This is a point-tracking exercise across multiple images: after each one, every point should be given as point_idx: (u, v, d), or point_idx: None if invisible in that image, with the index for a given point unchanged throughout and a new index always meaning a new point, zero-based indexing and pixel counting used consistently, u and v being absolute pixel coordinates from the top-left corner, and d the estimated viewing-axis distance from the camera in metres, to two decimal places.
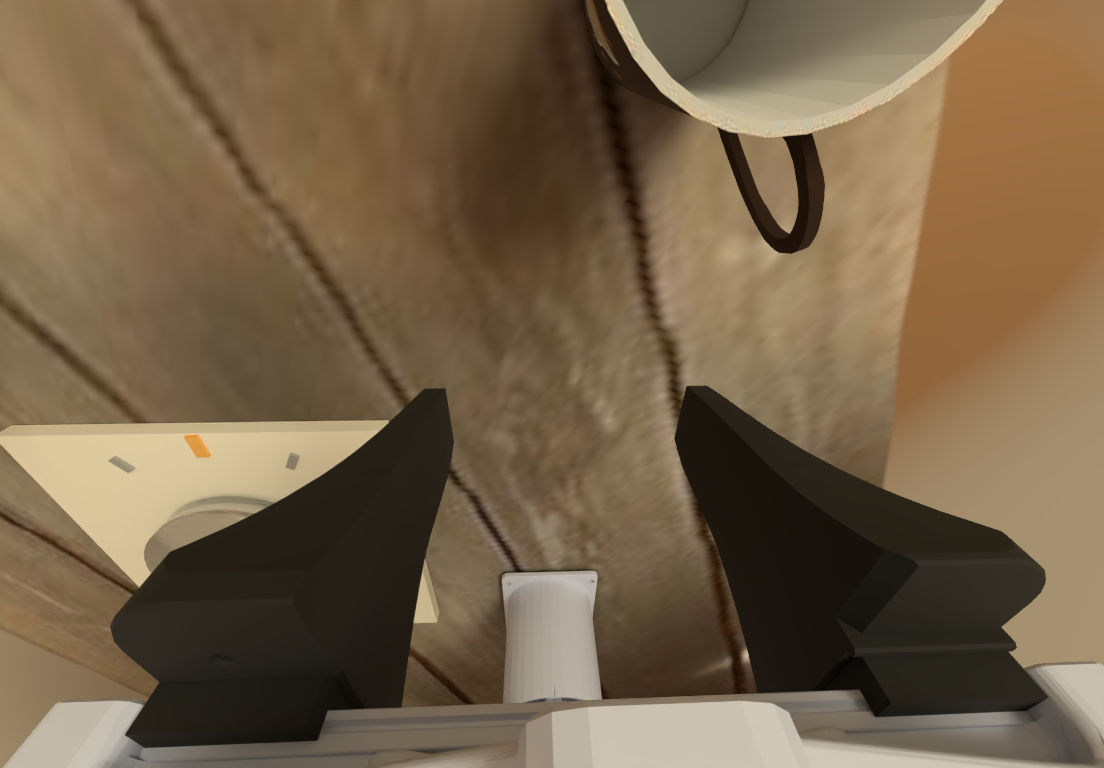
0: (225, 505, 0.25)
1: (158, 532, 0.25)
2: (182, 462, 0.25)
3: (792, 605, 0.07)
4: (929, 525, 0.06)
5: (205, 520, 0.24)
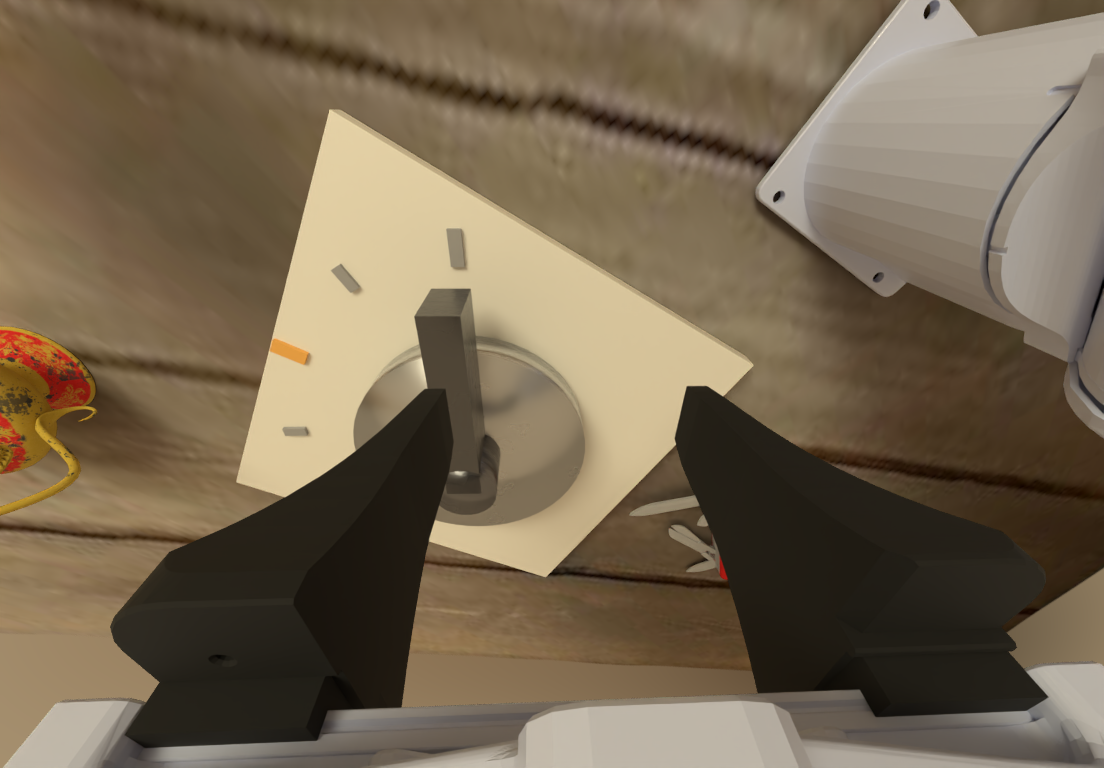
0: None
1: None
2: (311, 385, 0.21)
3: (792, 605, 0.07)
4: (928, 524, 0.06)
5: (360, 410, 0.20)
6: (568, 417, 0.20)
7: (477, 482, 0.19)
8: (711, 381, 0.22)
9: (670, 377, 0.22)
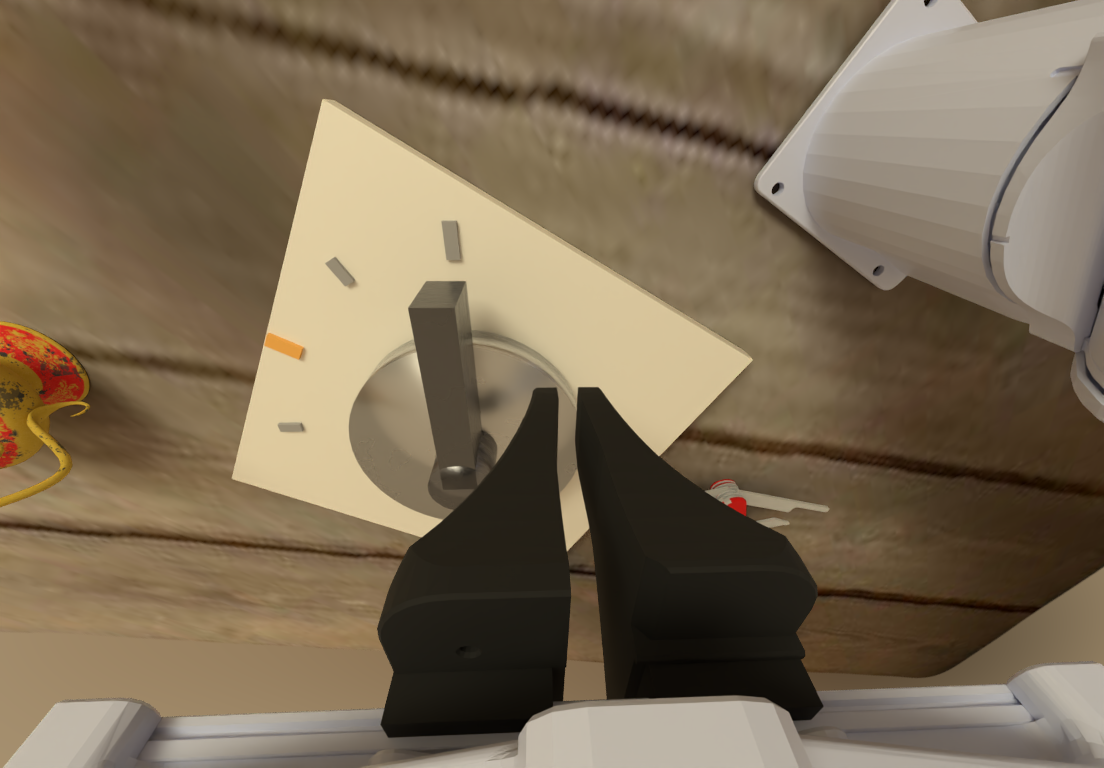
0: None
1: (356, 456, 0.21)
2: (306, 380, 0.21)
3: (617, 610, 0.07)
4: (718, 529, 0.06)
5: (355, 405, 0.19)
6: (566, 412, 0.20)
7: (473, 478, 0.18)
8: (710, 376, 0.22)
9: (669, 372, 0.22)
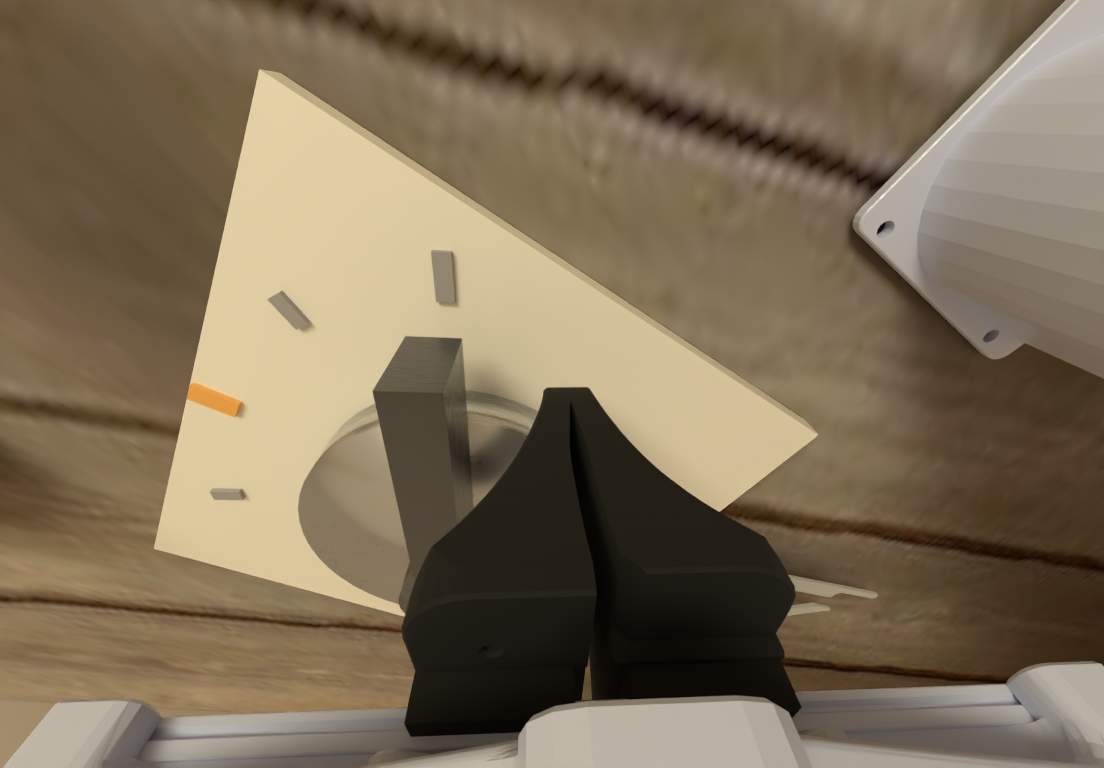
0: None
1: (309, 541, 0.16)
2: (246, 441, 0.16)
3: (600, 611, 0.07)
4: (698, 530, 0.06)
5: (306, 484, 0.15)
6: None
7: None
8: (763, 452, 0.17)
9: (713, 445, 0.17)
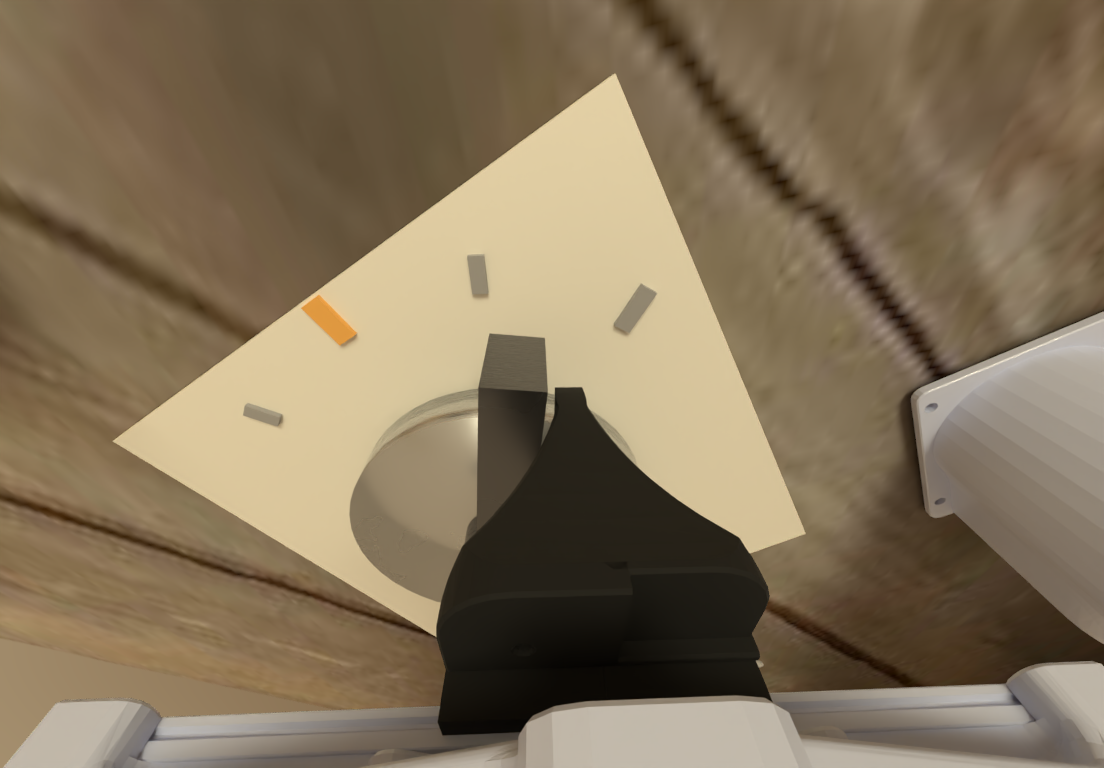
0: (377, 446, 0.15)
1: (355, 535, 0.16)
2: (329, 371, 0.14)
3: None
4: (673, 530, 0.06)
5: (363, 477, 0.14)
6: None
7: None
8: (762, 534, 0.21)
9: (732, 518, 0.20)
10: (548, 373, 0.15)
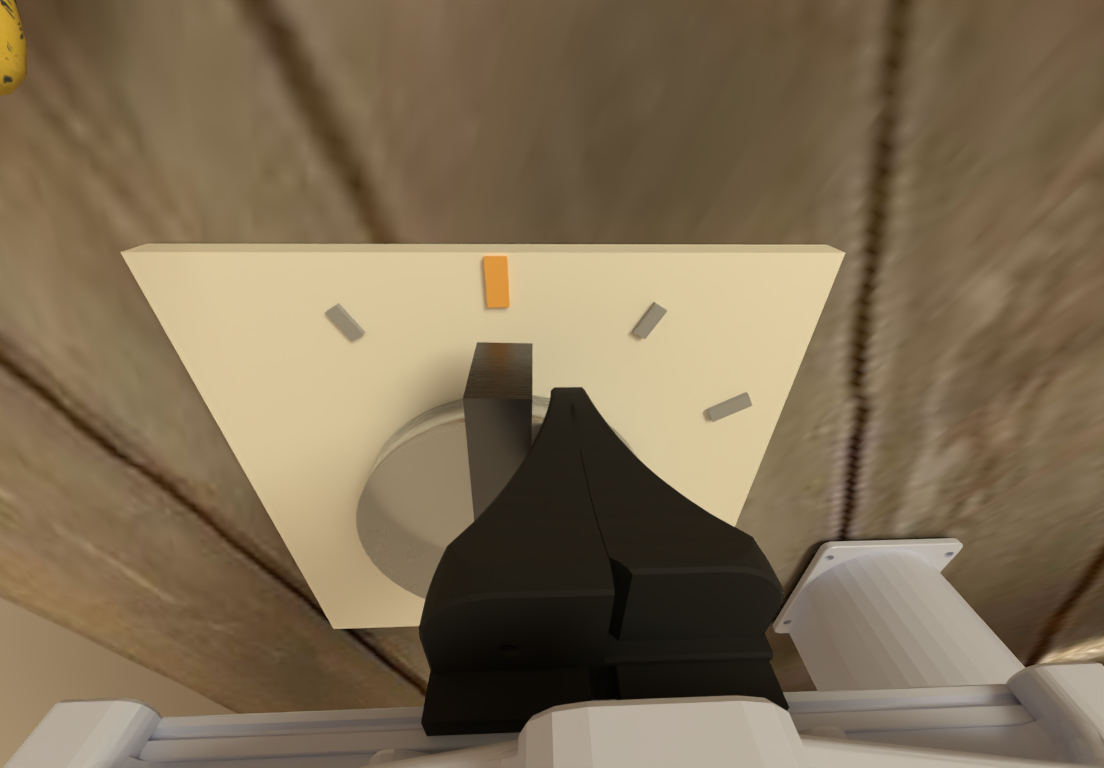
0: (378, 458, 0.15)
1: (364, 546, 0.16)
2: (452, 321, 0.13)
3: None
4: (687, 530, 0.06)
5: (366, 489, 0.15)
6: None
7: None
8: None
9: None
10: (631, 420, 0.16)
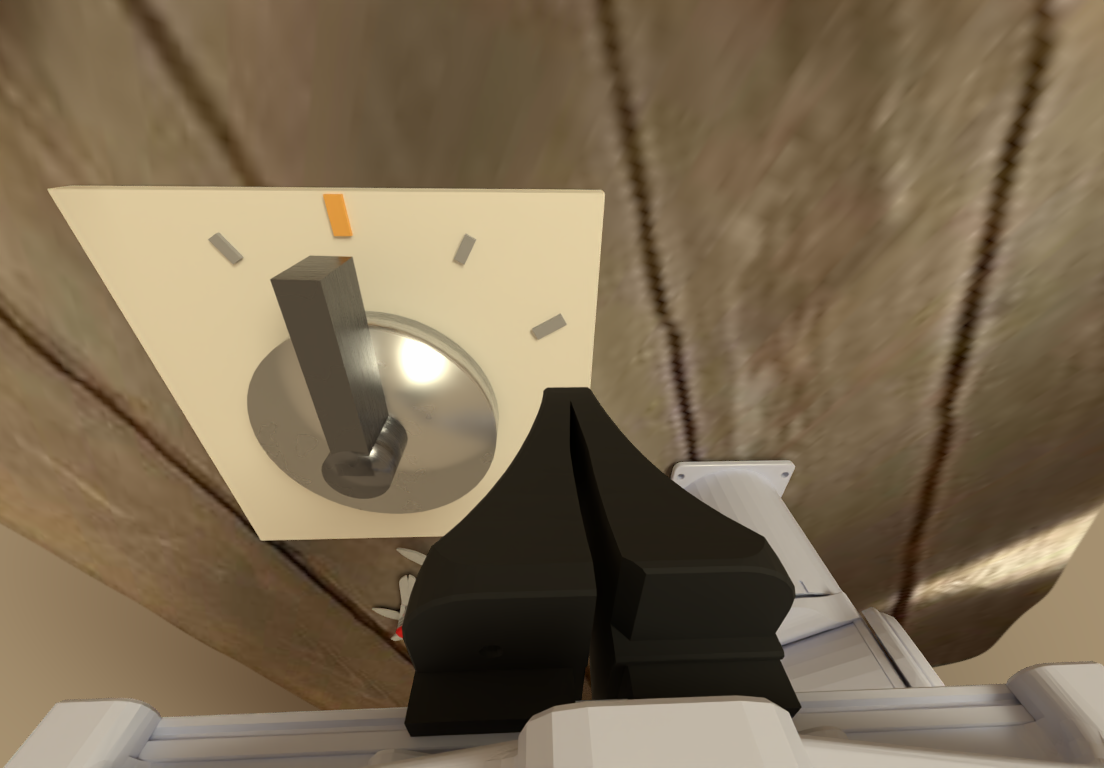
0: None
1: (260, 441, 0.20)
2: (310, 248, 0.17)
3: (600, 611, 0.07)
4: (698, 530, 0.06)
5: (251, 386, 0.19)
6: (474, 399, 0.19)
7: (369, 464, 0.18)
8: None
9: None
10: (472, 338, 0.20)
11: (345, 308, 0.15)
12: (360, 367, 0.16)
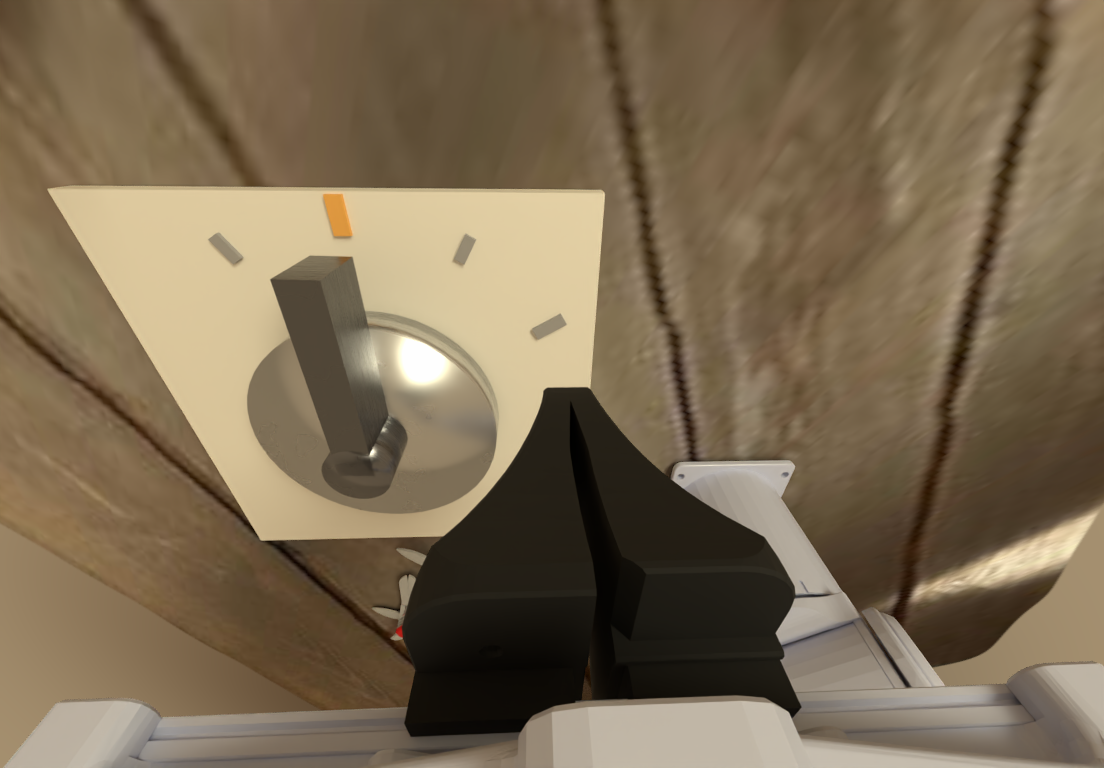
0: None
1: (260, 441, 0.20)
2: (310, 248, 0.17)
3: (600, 611, 0.07)
4: (698, 530, 0.06)
5: (251, 386, 0.19)
6: (474, 399, 0.19)
7: (369, 464, 0.18)
8: None
9: None
10: (472, 338, 0.20)
11: (345, 308, 0.15)
12: (360, 367, 0.16)
